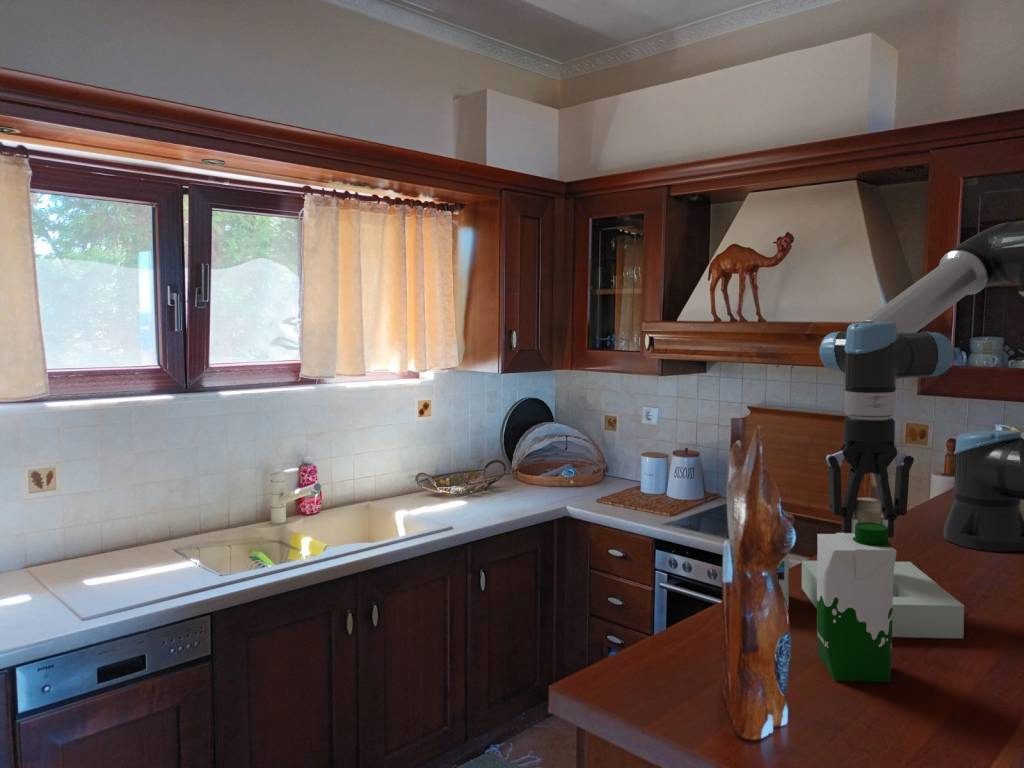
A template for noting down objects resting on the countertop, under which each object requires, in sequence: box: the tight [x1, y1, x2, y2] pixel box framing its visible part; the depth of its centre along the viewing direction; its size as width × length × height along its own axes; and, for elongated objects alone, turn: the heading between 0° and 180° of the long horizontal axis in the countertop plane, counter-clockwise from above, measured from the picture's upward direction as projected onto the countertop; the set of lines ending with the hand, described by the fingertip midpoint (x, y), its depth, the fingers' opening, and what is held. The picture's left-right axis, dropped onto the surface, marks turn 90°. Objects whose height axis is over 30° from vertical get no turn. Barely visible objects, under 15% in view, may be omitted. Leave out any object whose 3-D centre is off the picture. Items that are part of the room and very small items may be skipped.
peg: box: [853, 497, 882, 524], centre depth 126 cm, size 4×4×12 cm
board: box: [801, 560, 965, 640], centre depth 123 cm, size 18×20×5 cm
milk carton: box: [816, 522, 897, 683], centre depth 102 cm, size 9×9×20 cm
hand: (866, 555), depth 126 cm, fingers closed on peg, 4 cm apart
